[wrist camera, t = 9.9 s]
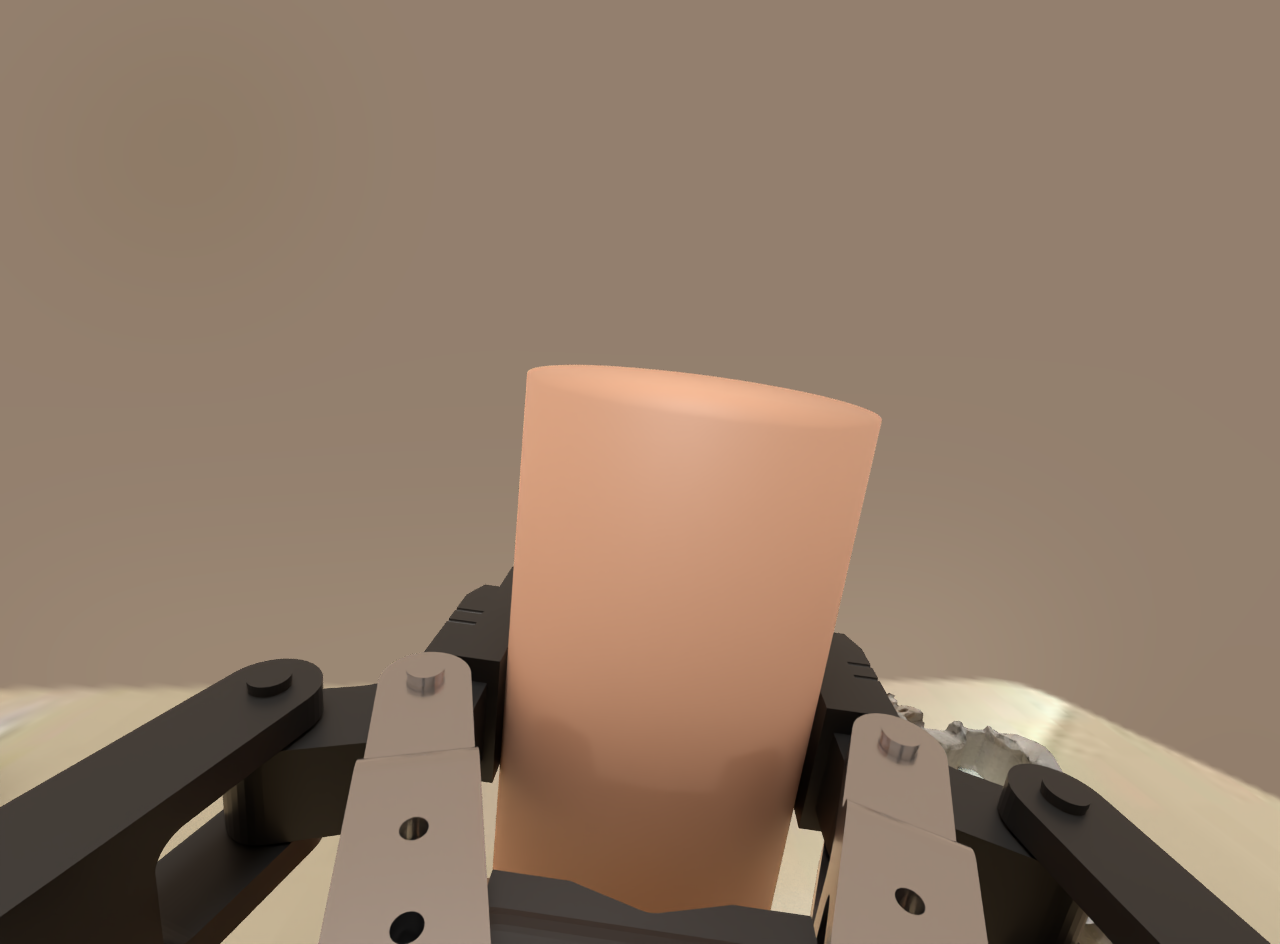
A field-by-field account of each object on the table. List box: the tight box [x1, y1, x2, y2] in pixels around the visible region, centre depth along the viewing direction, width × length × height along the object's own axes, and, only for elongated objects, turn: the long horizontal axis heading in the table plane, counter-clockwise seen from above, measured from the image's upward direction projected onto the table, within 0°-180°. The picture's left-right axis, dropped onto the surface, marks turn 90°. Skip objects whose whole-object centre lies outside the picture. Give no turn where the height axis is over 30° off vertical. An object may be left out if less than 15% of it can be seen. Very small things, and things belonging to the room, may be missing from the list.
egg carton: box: [887, 693, 1113, 944], centre depth 25 cm, size 11×8×4 cm
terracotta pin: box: [493, 365, 882, 913], centre depth 10 cm, size 5×5×12 cm
